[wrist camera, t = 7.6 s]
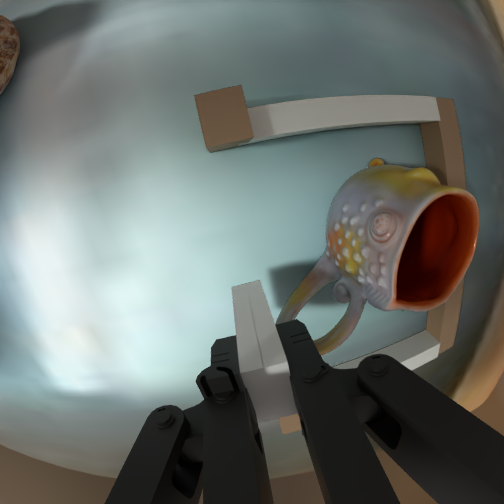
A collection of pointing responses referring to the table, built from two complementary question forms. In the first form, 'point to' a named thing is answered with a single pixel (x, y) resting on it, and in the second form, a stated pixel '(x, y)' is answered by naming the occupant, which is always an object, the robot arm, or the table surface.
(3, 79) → the seashell
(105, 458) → the table surface
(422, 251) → the mug
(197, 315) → the table surface
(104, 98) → the table surface
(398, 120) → the pocket
